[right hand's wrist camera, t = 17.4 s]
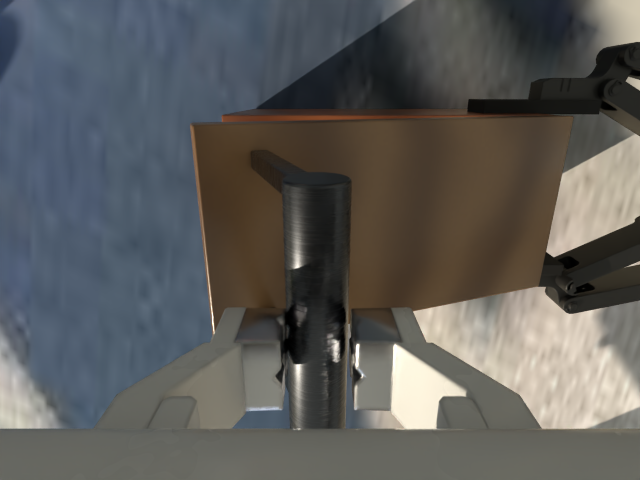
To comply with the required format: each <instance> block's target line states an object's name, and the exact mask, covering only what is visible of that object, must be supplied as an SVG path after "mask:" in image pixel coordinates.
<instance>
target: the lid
mask: <svg viewBox="0 0 640 480" xmlns="http://www.w3.org/2000/svg"><path fill="white" fill-rule="evenodd" d="M573 119H574V118H573V116H560V115H536V116H488V117H440V118H392V119H344V120H296V121H248V122H200V123H191V124H190V129H191V139H192V148H193V157H194V166H195V176H196V185H197V194H198V204H199V213H200V222H201V231H202V241H203V250H204V259H205V269H206V278H207V287H208V297H209V306H210V315H211V324H212V334H213V335H214V333H215V331H216V328H217V326H218V324H219V322H220V319H221V317H222V315H223V313H224V310H225V309H226V308H231V307H246V308H286V310H287V331H286V338H287V339H288V368H287V377H286V378H285V385H286V388H287V390H288V392H289V417H290V429H345V417H346V381H347V344H348V324H350V311H351V309H352V308H399V307H410V308H411V309H412V311H416V310H422V309H427V308H432V307H437V306H442V305H447V304H452V303H457V302H462V301H467V300H472V299H477V298H482V297H487V296H492V295H497V294H502V293H507V292H512V291H517V290H522V289H527V288H533V287H538V286H539V282H540V277H541V273H542V268H543V263H544V258H545V253H546V249H547V244H548V239H549V234H550V229H551V224H552V220H553V215H554V210H555V205H556V200H557V196H558V191H559V186H560V181H561V176H562V171H563V167H564V162H565V157H566V152H567V147H568V143H569V138H570V133H571V128H572V123H573Z"/></svg>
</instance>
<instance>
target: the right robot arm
mask: <svg viewBox="0 0 640 480" xmlns="http://www.w3.org/2000/svg"><path fill="white" fill-rule="evenodd" d="M350 330H351V338H350V339H349V365H350V376H351V378H352V394H353V403H354V410H383V411H391V413H392V414H393V415H394V416H395V418H396V419H397V420H398V421H399V422H400V423H401V424H402V425H403V426H404V427H405V429H231V428H232V427H233V426H234V425H235V424H236V423H237V422H238V421H239V420H240V419H241V418H242V416H243V415H244V414H245V413H246V411H254V410H283V402H284V394H285V378H286V377H287V368H288V339H287V338H286V331H287V310H286V308H246V307H231V308H226V309H225V310H224V313H223V315H222V317H221V319H220V322H219V324H218V326H217V328H216V331H215V333H214V335H213V337H212V339H211V342H210V343H203V344H201V345H200V346H198V347H196V348H194V349H193V350H191V351H189V352H188V353H186V354H184V355H183V356H181V357H179V358H178V359H176V360H174V361H173V362H171V363H169V364H167V365H166V366H164V367H162V368H161V369H159V370H157V371H156V372H154V373H152V374H151V375H149V376H147V377H146V378H144V379H142V380H140V381H139V382H137V383H135V384H134V385H132V386H130V387H129V388H127V389H125V390H124V391H122V392H120V393H119V394H117V395H116V396H115V398H114V399H113V401H112V402H111V404H110V405H109V407H108V408H107V410H106V411H105V412H104V414H103V415H102V417H101V418H100V420H99V421H98V423H97V424H96V426H95V427H94V428H93V429H0V480H640V429H542V428H541V427H540V425H539V424H538V422H537V421H536V419H535V418H534V416H533V415H532V413H531V412H530V410H529V409H528V407H527V406H526V404H525V403H524V401H523V399H522V398H521V396H520V395H519V394H517V393H515V392H514V391H512V390H510V389H509V388H507V387H505V386H504V385H502V384H500V383H499V382H497V381H495V380H494V379H492V378H490V377H489V376H487V375H485V374H484V373H482V372H480V371H479V370H477V369H475V368H474V367H472V366H470V365H469V364H467V363H465V362H464V361H462V360H460V359H459V358H457V357H455V356H454V355H452V354H450V353H449V352H447V351H445V350H444V349H442V348H440V347H439V346H437V345H435V344H434V343H426V340H425V338H424V336H423V334H422V331H421V329H420V327H419V324H418V322H417V320H416V318H415V315H414V313H413V311H412V309H411V308H410V307H399V308H352V309H351V311H350Z"/></svg>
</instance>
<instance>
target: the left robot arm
mask: <svg viewBox="0 0 640 480" xmlns="http://www.w3.org/2000/svg"><path fill="white" fill-rule="evenodd" d="M596 64H597V65H596V67H595V69H594V71H593V72H592V73H591V74H590V75H589V76H588V77H586V78H548V79H539V80H537V81H534V82H532V83H531V87H530V93H529V98H528V99H469V102H468V110H467V112H475V113H537V114H599V111H601V112H602V113H604V114H605V115H607V116H609V117H610V118H612V119H613V120H615V121H617V122H618V123H620V124H621V125H623V126H624V127H626V128H628V129H629V130H631V131H632V132H634V133H636V134H637V135H639V136H640V91H639V90H638V89H636V88H635V87H633V86H632V85H630V84H629V83H627V82H626V79H627V78H628V77H632V78H635V79H639V80H640V42H634V43H629V44H623V45H617V46H611V47H606V48H603V49H602V50H601V51H600V52H599V53H598V55H597V58H596ZM638 261H640V216H638V217H637V218H636V219H635V222H634V223H633V224H630V225H628V226H626V227H623V228H621V229H619V230H616V231H614V232H612V233H609V234H607V235H605V236H602V237H600V238H598V239H596V240H593V241H591V242H589V243H586V244H584V245H582V246H579V247H577V248H575V249H572V250H570V251H568V252H566V253H563V254H561V255H559V256H556V257H552V256H551V255H549V254H548V253H547V252H546V253H545V258H544V263H543V268H542V273H541V277H540V282H539V286H538V287H546V289H545V293H546V295H547V296H548V297H550V298H551V299H552V300H553V301H554V302H555V303H556V304H557V305H558V306H559V307H561V308H562V309H563V310H564V311H565V312H566V313H569V314H574V313H579V312H584V311H589V310H594V309H599V308H604V307H609V306H614V305H619V304H624V303H629V302H634V301H639V300H640V265H635V266H630V267H626V266H629V265H631V264H634V263H636V262H638ZM624 267H625V268H624Z"/></svg>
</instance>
